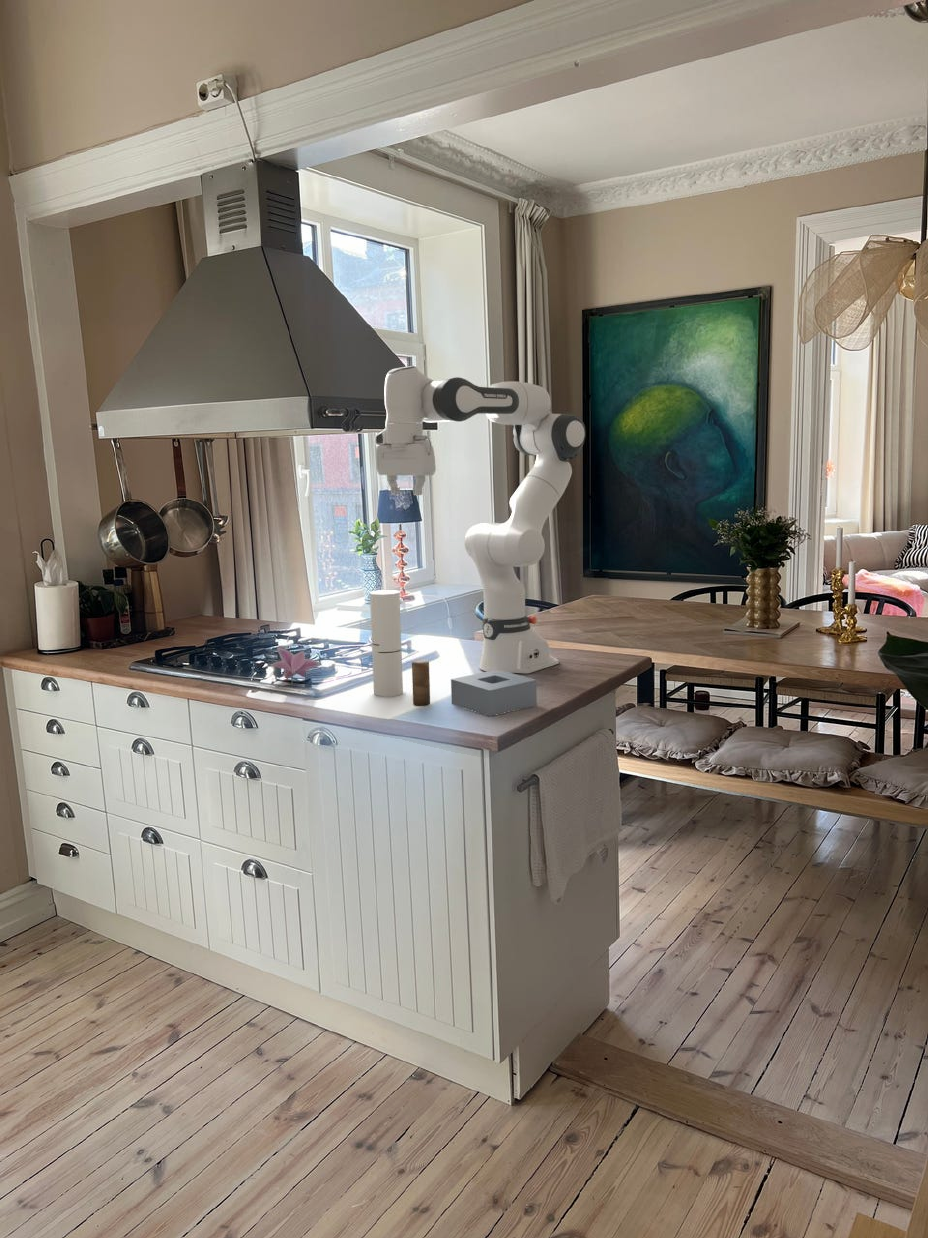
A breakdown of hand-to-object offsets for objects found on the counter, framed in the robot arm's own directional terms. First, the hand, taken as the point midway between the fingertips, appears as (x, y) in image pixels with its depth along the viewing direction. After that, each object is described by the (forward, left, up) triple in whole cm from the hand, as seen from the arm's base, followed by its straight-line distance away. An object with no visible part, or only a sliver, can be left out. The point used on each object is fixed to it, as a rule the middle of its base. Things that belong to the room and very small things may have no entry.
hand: (406, 494), depth 224 cm
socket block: (-5, +26, -48) cm, 55 cm away
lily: (+19, -25, -48) cm, 58 cm away
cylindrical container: (+7, 0, -48) cm, 49 cm away
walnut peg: (+7, +14, -48) cm, 51 cm away
